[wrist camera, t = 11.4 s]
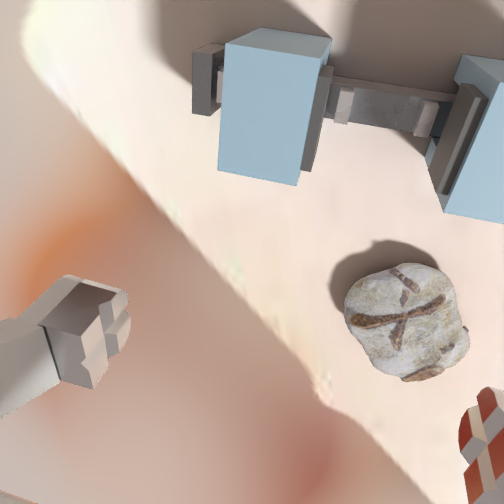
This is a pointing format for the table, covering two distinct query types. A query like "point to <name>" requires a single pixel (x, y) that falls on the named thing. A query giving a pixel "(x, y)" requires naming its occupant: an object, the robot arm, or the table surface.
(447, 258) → the table surface
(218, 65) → the rail
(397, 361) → the stone
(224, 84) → the light blue block
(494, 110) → the light blue rectangular block
